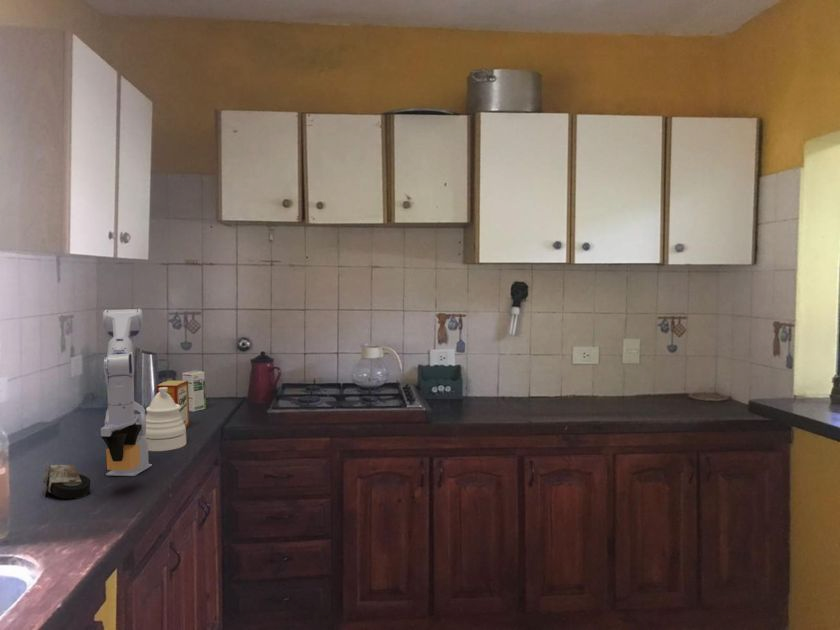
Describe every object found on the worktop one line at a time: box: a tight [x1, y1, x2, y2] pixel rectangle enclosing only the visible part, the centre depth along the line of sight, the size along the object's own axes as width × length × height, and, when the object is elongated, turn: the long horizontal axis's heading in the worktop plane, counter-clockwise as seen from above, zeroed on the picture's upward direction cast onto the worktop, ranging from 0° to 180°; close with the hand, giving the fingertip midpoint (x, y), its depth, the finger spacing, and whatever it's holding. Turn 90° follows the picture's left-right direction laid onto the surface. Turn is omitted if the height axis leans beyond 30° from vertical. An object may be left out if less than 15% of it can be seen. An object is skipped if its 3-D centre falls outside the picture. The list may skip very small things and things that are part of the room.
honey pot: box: [143, 387, 187, 452], centre depth 206 cm, size 13×13×18 cm
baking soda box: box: [156, 379, 191, 429], centre depth 226 cm, size 10×6×16 cm
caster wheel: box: [42, 461, 91, 500], centre depth 164 cm, size 7×11×10 cm
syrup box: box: [182, 370, 207, 412], centre depth 255 cm, size 6×6×14 cm
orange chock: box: [105, 445, 140, 471], centre depth 165 cm, size 4×6×5 cm
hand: (123, 457), depth 165 cm, fingers closed on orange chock, 4 cm apart
